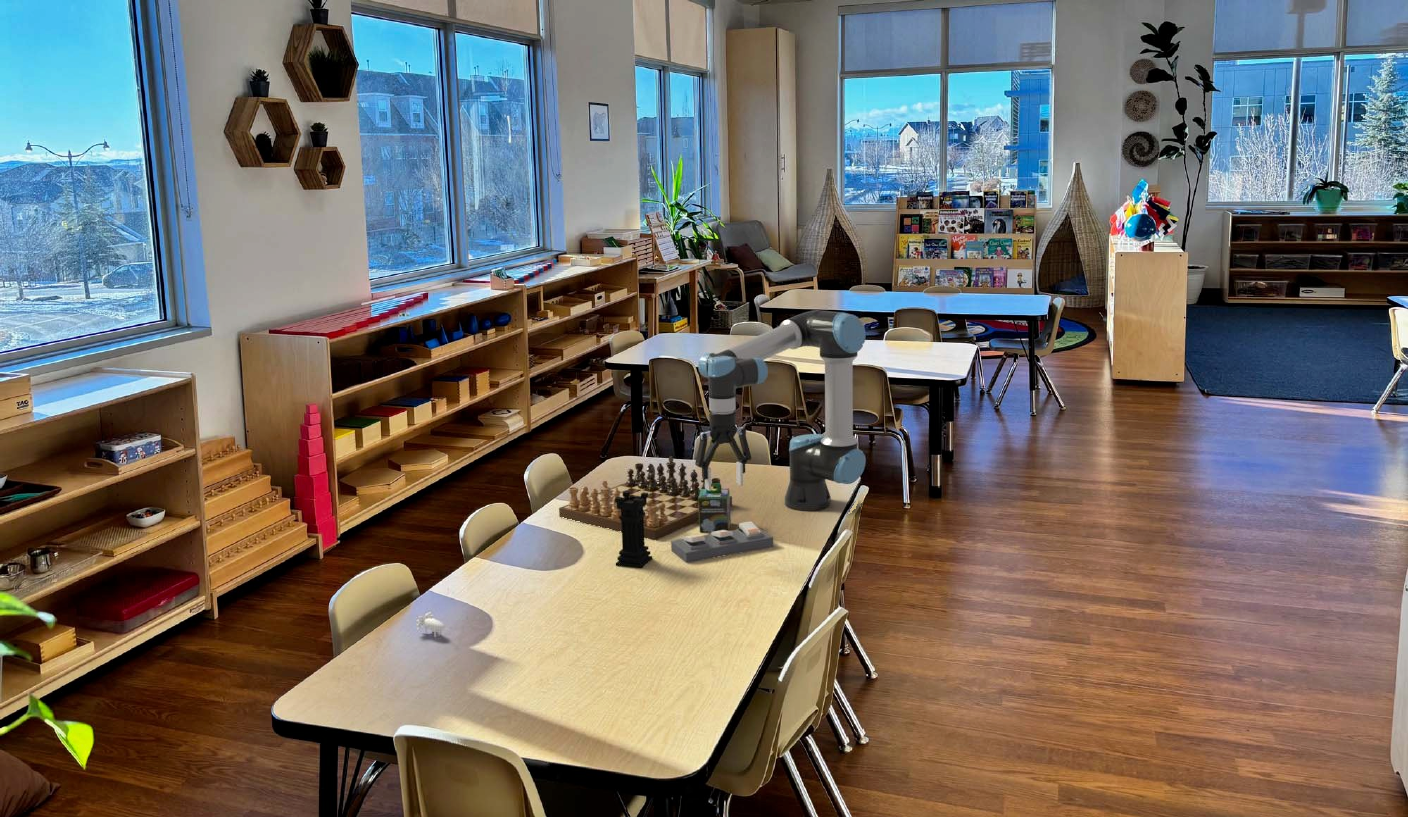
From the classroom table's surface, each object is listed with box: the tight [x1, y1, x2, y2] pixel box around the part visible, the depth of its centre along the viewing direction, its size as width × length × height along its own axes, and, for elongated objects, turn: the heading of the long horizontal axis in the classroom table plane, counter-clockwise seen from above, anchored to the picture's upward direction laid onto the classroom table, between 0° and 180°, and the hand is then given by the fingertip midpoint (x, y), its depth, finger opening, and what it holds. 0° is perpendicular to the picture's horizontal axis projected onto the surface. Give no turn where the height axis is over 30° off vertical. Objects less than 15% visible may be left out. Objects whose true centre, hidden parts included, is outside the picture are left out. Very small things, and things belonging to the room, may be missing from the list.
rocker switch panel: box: [670, 525, 774, 564], centre depth 327 cm, size 28×11×4 cm, turn 114°
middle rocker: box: [710, 530, 733, 537], centre depth 326 cm, size 4×6×1 cm, turn 24°
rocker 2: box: [738, 520, 761, 536], centre depth 330 cm, size 4×6×1 cm, turn 24°
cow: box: [415, 610, 452, 638], centre depth 272 cm, size 12×5×5 cm, turn 52°
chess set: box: [558, 455, 733, 541], centre depth 362 cm, size 40×40×15 cm
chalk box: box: [698, 482, 732, 533], centre depth 344 cm, size 9×9×15 cm
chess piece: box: [615, 491, 653, 570], centre depth 316 cm, size 8×8×20 cm
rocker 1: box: [682, 534, 705, 542], centre depth 323 cm, size 4×6×1 cm, turn 24°
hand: (724, 486), depth 321 cm, fingers open, 9 cm apart
